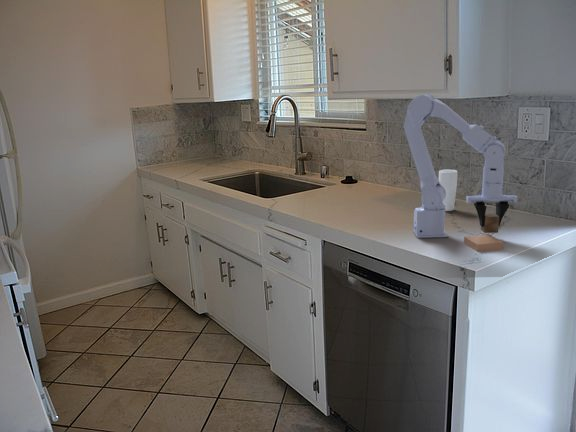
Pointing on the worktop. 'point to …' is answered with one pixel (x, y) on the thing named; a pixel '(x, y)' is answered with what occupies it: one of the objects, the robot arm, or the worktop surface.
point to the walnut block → (491, 223)
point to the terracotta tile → (483, 242)
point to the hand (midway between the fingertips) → (489, 225)
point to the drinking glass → (449, 187)
